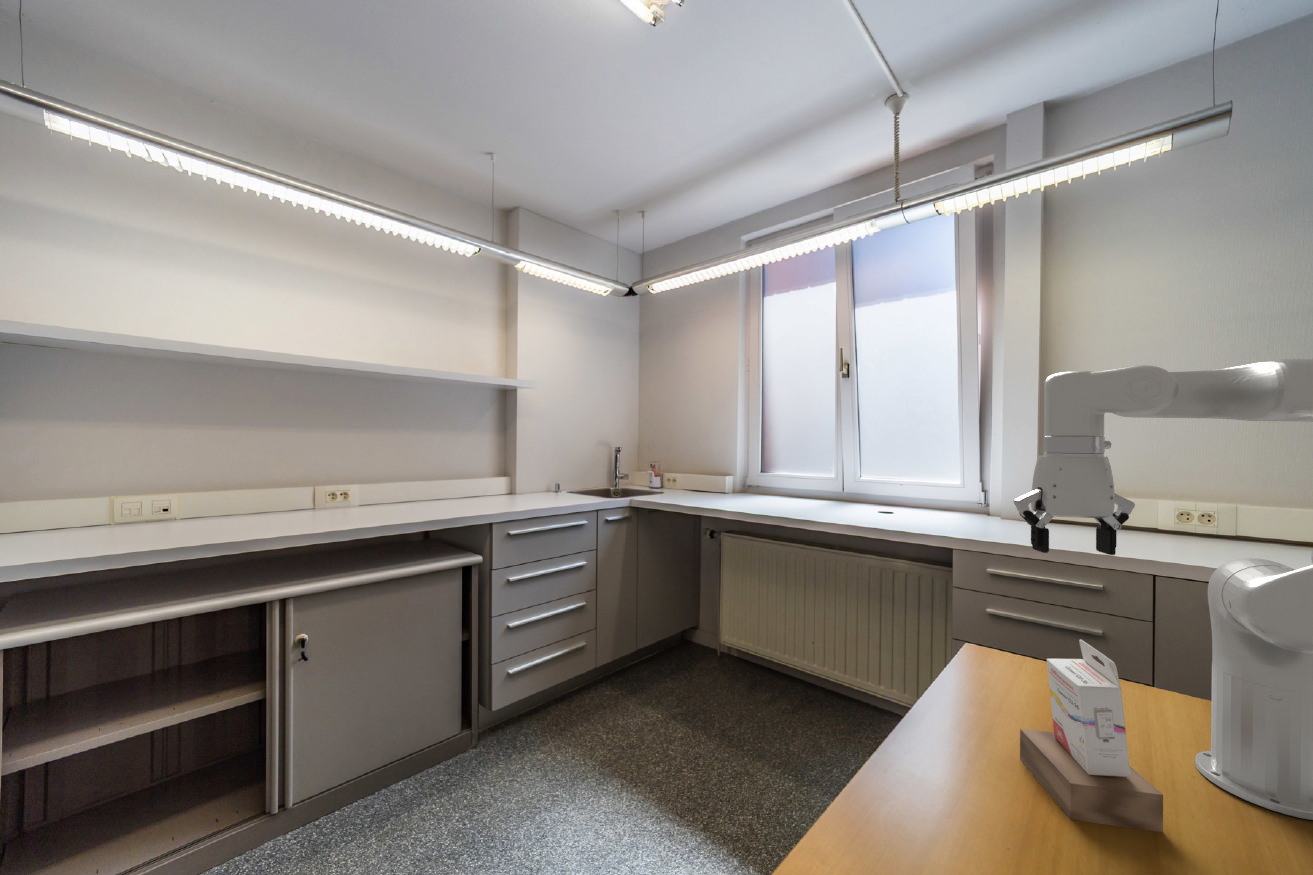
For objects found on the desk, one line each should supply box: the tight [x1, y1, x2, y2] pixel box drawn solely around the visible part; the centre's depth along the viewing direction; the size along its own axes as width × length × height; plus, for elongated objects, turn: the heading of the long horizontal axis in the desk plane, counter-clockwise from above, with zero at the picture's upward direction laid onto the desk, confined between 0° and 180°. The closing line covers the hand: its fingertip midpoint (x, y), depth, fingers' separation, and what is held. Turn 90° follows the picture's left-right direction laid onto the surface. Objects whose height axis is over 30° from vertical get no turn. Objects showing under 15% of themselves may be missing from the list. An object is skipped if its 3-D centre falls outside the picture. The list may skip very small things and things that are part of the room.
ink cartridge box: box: [1046, 638, 1131, 777], centre depth 68 cm, size 9×5×15 cm, turn 166°
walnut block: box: [1019, 728, 1164, 833], centre depth 68 cm, size 10×12×5 cm
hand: (1072, 552), depth 81 cm, fingers open, 9 cm apart
